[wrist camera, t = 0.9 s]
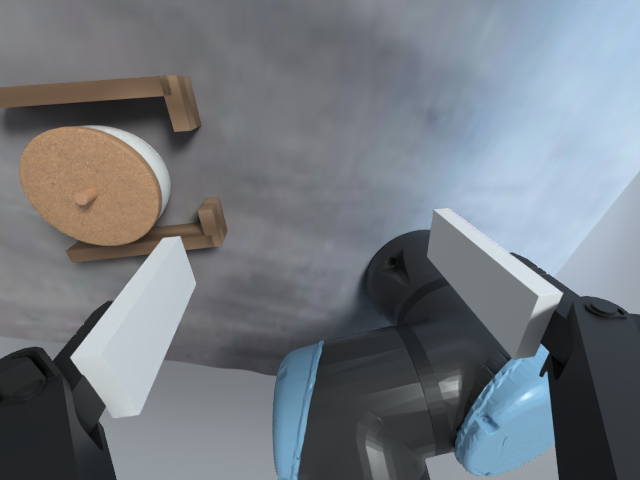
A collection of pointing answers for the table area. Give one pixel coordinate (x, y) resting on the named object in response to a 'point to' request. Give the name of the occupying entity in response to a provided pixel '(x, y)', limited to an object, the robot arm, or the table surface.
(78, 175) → the lidded jar
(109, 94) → the cradle
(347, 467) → the robot arm
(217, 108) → the table surface
